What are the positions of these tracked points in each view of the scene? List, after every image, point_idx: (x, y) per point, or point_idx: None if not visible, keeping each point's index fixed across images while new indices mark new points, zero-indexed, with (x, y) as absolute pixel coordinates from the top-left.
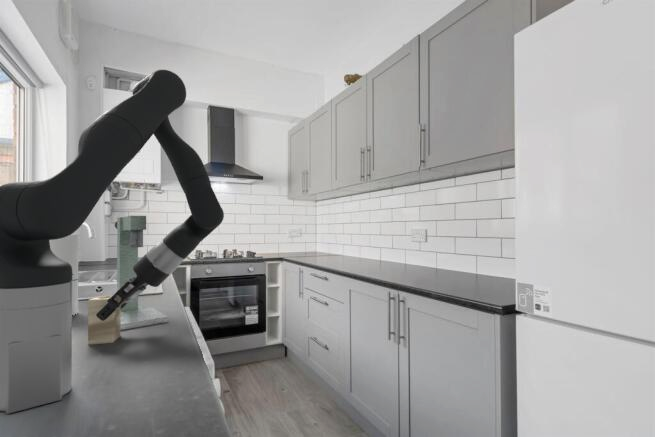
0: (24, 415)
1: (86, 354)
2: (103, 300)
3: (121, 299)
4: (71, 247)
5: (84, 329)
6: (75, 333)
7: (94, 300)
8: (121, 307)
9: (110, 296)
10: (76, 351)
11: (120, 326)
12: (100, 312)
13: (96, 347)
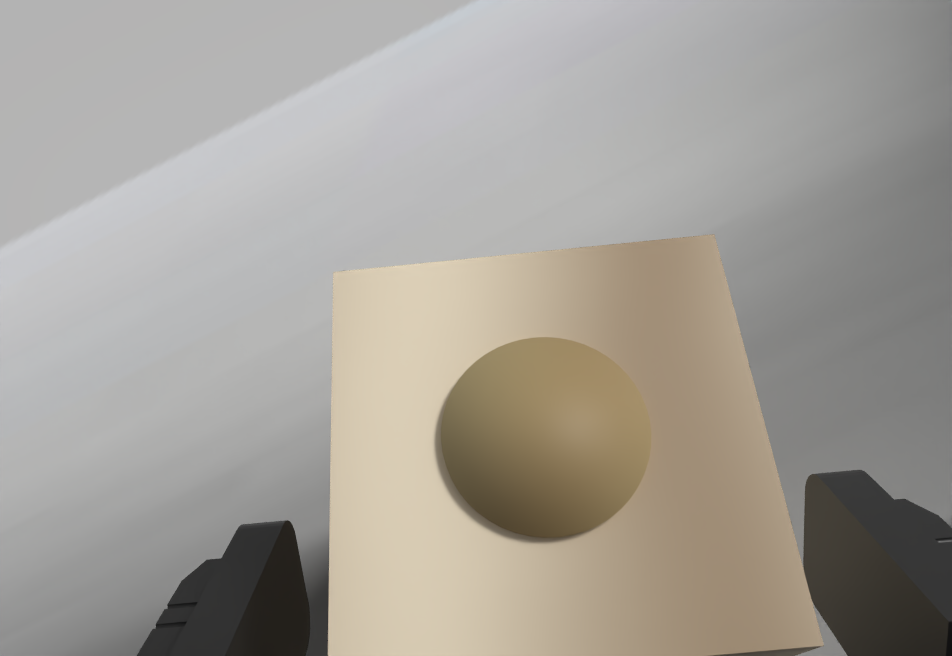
0: None
1: (120, 627)
2: (331, 510)
3: (909, 623)
4: None
5: (936, 210)
6: (804, 206)
7: (332, 363)
8: (846, 643)
9: (586, 518)
10: (246, 490)
11: None
12: (175, 596)
13: (311, 617)
